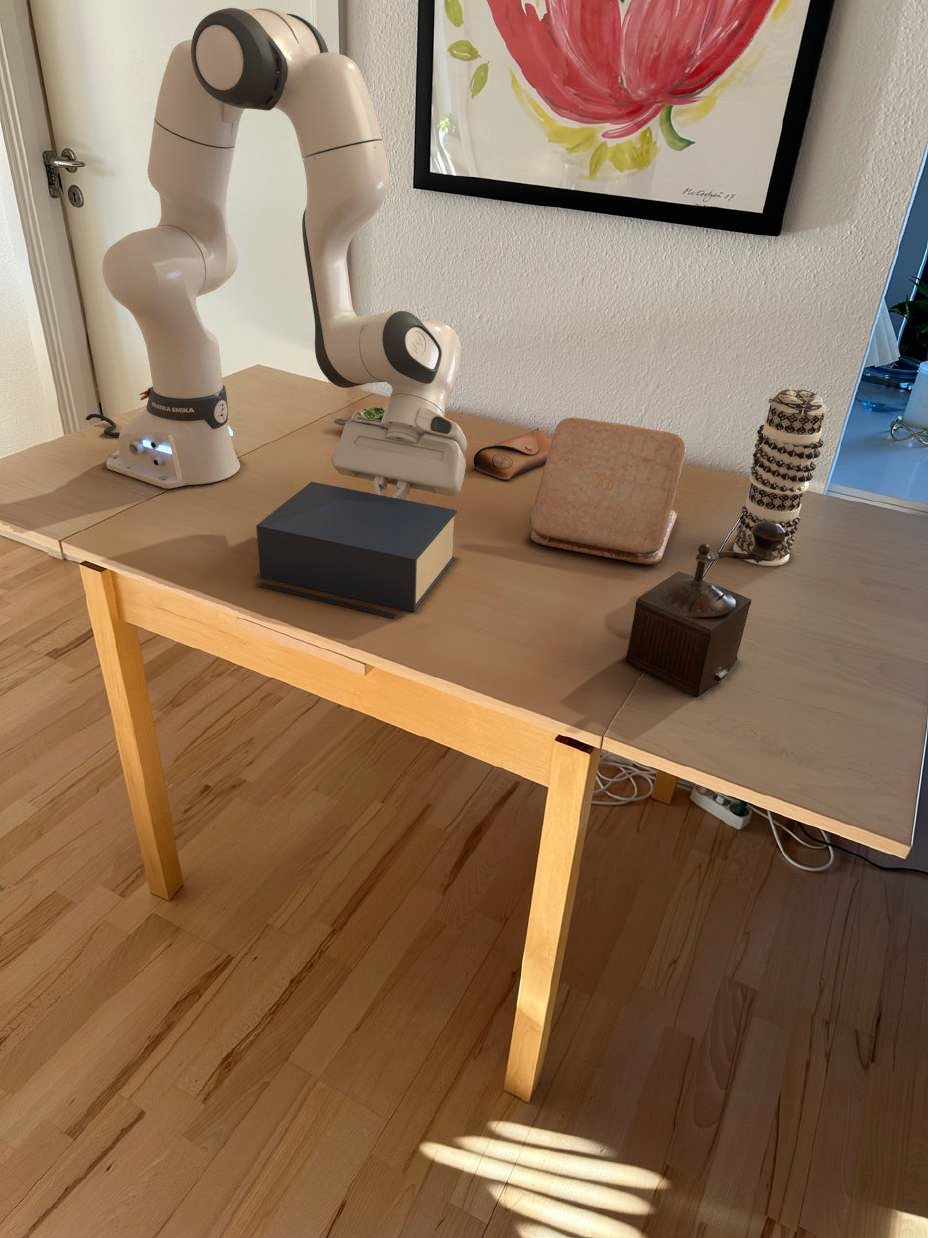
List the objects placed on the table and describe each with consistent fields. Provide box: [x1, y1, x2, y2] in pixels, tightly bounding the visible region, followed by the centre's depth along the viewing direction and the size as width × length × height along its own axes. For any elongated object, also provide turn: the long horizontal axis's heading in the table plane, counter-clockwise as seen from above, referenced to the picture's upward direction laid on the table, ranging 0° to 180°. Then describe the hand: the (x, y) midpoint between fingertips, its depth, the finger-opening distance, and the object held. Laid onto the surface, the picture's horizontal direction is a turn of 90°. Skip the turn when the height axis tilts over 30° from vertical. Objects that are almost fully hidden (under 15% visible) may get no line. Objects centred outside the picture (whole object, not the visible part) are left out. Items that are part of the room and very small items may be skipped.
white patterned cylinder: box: [732, 388, 829, 567], centre depth 132 cm, size 9×9×25 cm
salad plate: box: [333, 406, 386, 428], centre depth 174 cm, size 19×18×5 cm
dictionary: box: [255, 481, 458, 613], centre depth 127 cm, size 23×16×8 cm
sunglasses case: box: [472, 427, 552, 481], centre depth 164 cm, size 18×7×7 cm, turn 139°
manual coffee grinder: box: [625, 521, 785, 697], centre depth 109 cm, size 16×11×18 cm
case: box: [529, 417, 687, 566], centre depth 139 cm, size 20×21×16 cm
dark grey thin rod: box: [258, 582, 397, 619], centre depth 121 cm, size 20×1×1 cm, turn 70°
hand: (383, 510), depth 134 cm, fingers closed
